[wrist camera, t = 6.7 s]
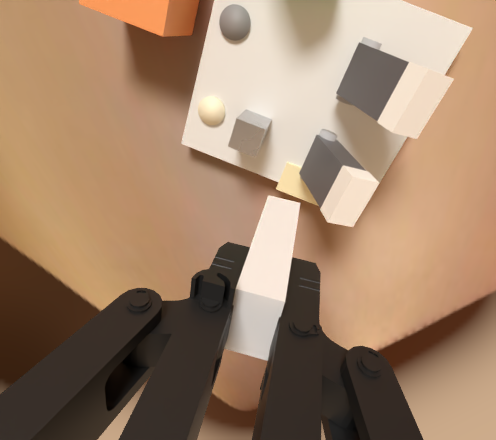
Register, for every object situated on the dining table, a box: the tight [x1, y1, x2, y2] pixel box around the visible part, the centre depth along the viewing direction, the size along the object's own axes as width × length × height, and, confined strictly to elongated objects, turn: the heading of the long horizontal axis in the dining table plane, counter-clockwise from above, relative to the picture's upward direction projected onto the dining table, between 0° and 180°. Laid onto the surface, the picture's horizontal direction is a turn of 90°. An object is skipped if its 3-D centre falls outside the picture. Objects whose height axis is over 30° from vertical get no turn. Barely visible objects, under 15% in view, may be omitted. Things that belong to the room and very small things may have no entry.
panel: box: [181, 0, 473, 215], centre depth 29 cm, size 18×17×2 cm
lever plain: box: [336, 37, 454, 139], centre depth 23 cm, size 2×4×8 cm, turn 161°
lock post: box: [228, 109, 272, 157], centre depth 28 cm, size 2×2×4 cm
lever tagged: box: [299, 129, 379, 227], centre depth 26 cm, size 2×4×8 cm, turn 162°
